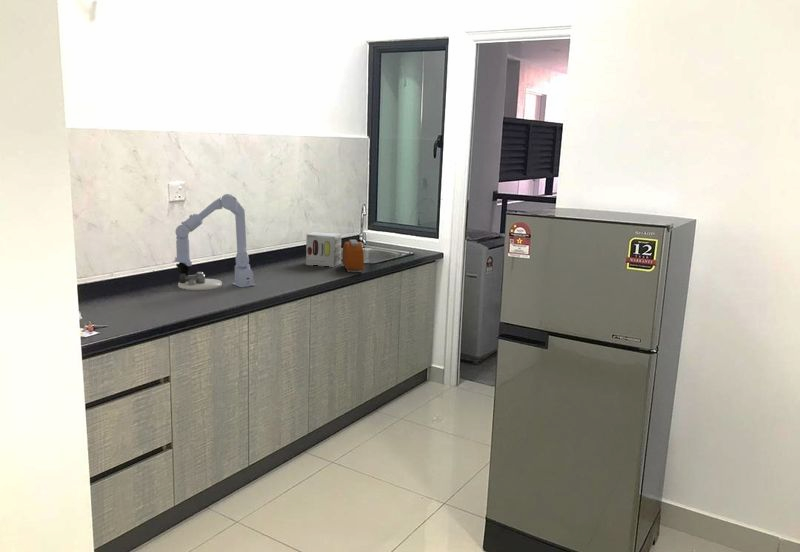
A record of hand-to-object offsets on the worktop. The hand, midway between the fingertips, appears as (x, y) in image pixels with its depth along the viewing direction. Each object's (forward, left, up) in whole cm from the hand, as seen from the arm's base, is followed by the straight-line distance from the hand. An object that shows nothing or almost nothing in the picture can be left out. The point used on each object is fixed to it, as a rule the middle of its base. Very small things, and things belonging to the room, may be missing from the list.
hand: (183, 278), depth 307 cm
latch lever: (-4, -2, -2) cm, 5 cm away
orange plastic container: (-7, -94, -4) cm, 95 cm away
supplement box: (+13, -88, -4) cm, 89 cm away
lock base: (-4, -6, -3) cm, 8 cm away
